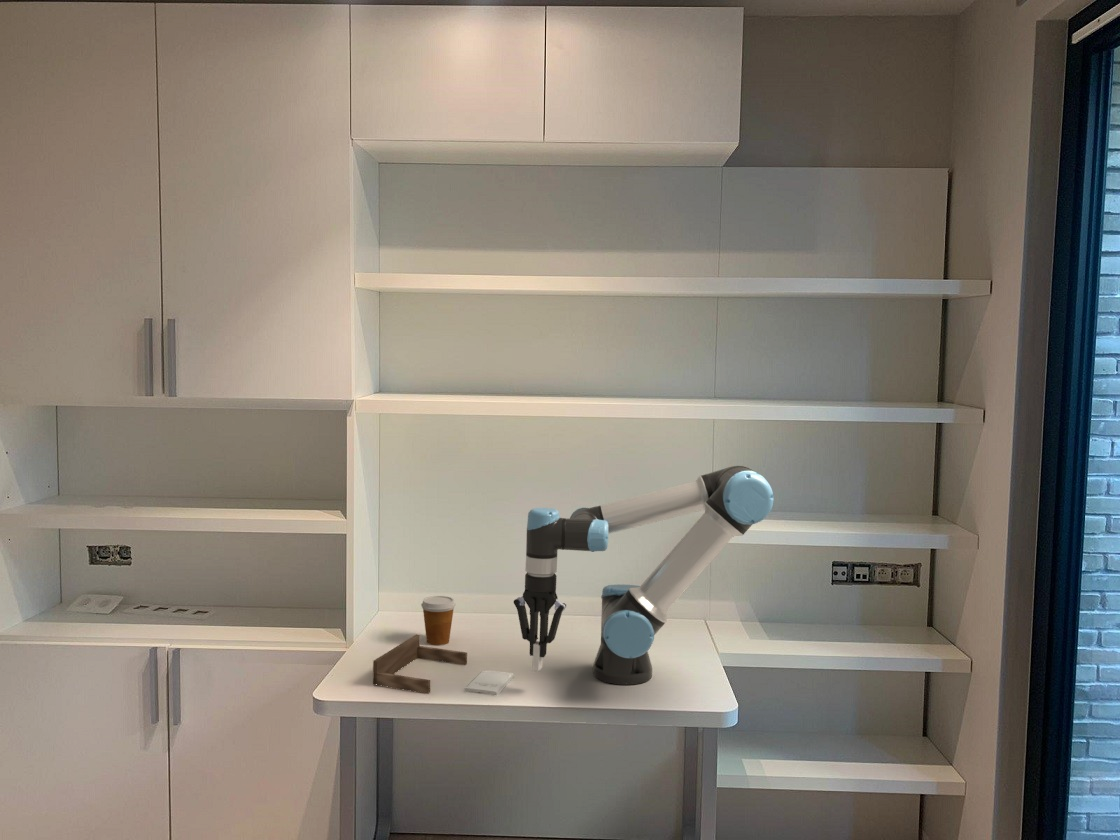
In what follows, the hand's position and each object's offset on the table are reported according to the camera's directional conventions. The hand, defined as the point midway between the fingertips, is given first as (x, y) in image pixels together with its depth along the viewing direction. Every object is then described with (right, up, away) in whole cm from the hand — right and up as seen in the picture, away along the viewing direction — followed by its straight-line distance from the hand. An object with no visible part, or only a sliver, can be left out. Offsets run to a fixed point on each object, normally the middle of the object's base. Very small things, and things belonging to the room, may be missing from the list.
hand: (537, 669), depth 209 cm
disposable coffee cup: (-29, -3, +36) cm, 46 cm away
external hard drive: (-12, -6, +5) cm, 14 cm away
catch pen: (-29, -4, +10) cm, 31 cm away
